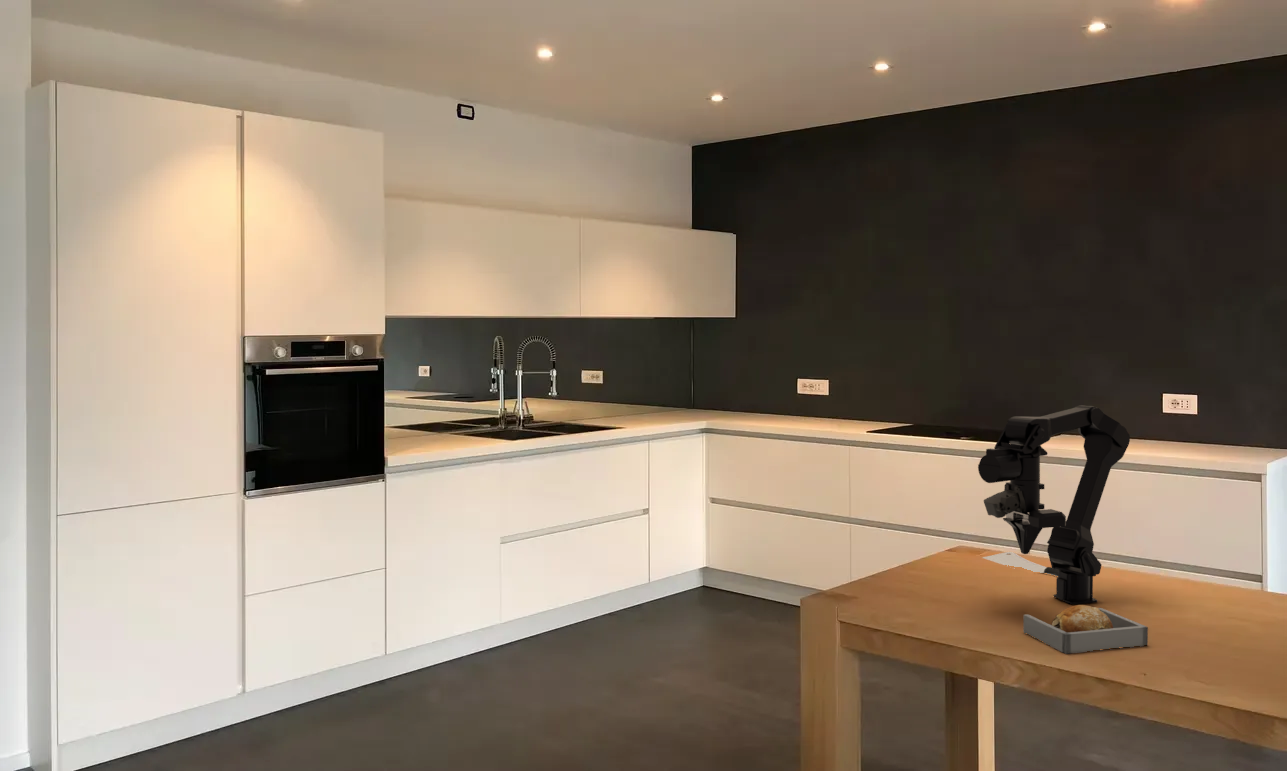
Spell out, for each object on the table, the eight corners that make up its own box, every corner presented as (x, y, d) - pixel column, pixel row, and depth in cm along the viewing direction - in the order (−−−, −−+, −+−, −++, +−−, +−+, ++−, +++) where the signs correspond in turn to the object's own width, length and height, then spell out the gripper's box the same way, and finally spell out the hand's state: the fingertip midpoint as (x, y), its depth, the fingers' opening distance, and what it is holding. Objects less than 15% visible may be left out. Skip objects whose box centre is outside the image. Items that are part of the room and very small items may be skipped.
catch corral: (1100, 625, 200) (1101, 607, 200) (1147, 645, 187) (1147, 627, 187) (1023, 632, 196) (1023, 614, 196) (1065, 653, 183) (1065, 634, 183)
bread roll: (1087, 666, 187) (1106, 632, 184) (1038, 632, 194) (1056, 598, 191) (1110, 654, 194) (1129, 620, 191) (1063, 621, 201) (1081, 588, 198)
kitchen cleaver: (975, 556, 257) (1009, 548, 260) (976, 562, 257) (1009, 554, 260) (1060, 586, 227) (1097, 577, 230) (1061, 594, 228) (1097, 584, 231)
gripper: (964, 474, 216) (964, 547, 217) (1018, 488, 198) (1018, 567, 199) (1010, 471, 219) (1010, 543, 220) (1067, 484, 201) (1067, 562, 202)
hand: (1024, 553), depth 210 cm, fingers closed
